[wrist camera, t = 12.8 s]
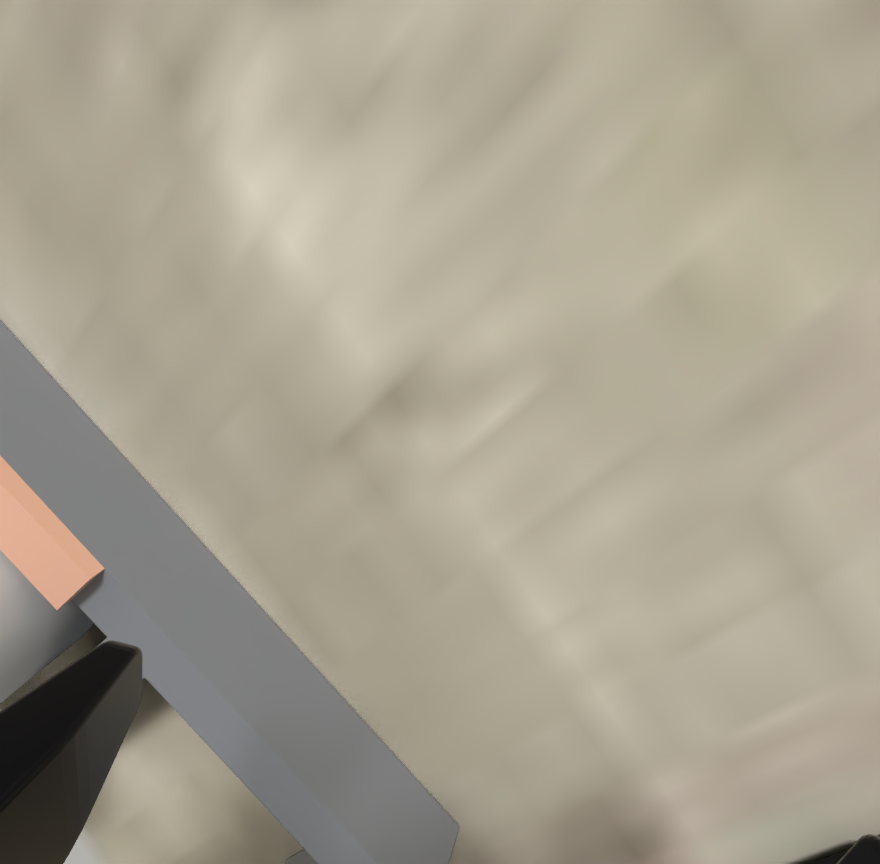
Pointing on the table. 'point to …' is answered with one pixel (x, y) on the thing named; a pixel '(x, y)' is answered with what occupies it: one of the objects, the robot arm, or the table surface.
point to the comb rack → (198, 633)
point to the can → (31, 628)
